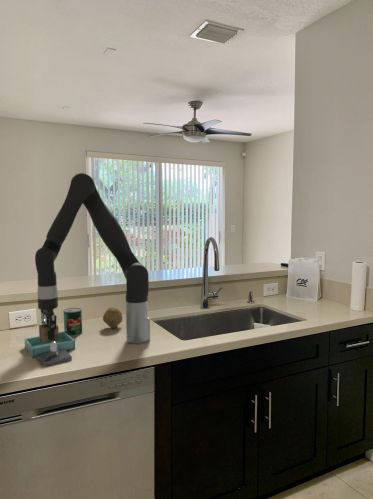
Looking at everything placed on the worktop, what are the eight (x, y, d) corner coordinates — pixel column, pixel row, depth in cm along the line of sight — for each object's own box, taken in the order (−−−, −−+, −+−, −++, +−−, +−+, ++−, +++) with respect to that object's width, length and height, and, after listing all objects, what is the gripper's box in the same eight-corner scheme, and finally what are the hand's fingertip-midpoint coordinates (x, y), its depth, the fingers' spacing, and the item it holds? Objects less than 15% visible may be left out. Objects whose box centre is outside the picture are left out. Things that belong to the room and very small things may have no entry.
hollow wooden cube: (54, 336, 152) (54, 322, 152) (58, 340, 147) (58, 325, 147) (39, 339, 149) (38, 325, 148) (43, 343, 144) (42, 328, 143)
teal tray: (64, 339, 159) (64, 331, 158) (75, 348, 147) (74, 340, 147) (24, 347, 149) (24, 339, 149) (33, 357, 138) (32, 348, 138)
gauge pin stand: (63, 352, 144) (62, 335, 143) (71, 360, 135) (71, 342, 135) (36, 358, 138) (35, 340, 137) (43, 366, 130) (43, 348, 129)
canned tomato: (74, 329, 172) (73, 306, 171) (86, 332, 168) (85, 308, 167) (60, 334, 166) (59, 310, 165) (72, 337, 162) (71, 312, 161)
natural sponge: (99, 329, 172) (98, 308, 171) (108, 324, 181) (108, 304, 180) (116, 331, 169) (116, 310, 169) (125, 325, 178) (125, 305, 177)
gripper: (62, 298, 143) (64, 340, 144) (52, 292, 154) (53, 331, 156) (42, 301, 138) (44, 344, 140) (33, 294, 150) (35, 334, 151)
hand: (49, 337), depth 148 cm, fingers closed on hollow wooden cube, 6 cm apart
